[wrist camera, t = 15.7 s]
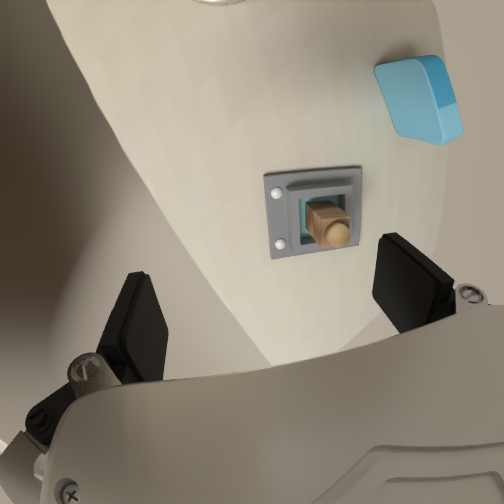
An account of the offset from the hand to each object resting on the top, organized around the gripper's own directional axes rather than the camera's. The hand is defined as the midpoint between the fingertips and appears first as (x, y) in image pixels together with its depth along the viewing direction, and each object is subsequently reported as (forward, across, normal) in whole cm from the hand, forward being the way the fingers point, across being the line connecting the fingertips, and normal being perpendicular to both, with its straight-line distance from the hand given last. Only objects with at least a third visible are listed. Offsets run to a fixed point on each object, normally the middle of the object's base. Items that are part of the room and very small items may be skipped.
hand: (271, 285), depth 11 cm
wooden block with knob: (+29, -12, +9) cm, 33 cm away
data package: (+31, -27, -9) cm, 42 cm away
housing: (+30, -12, +9) cm, 34 cm away
